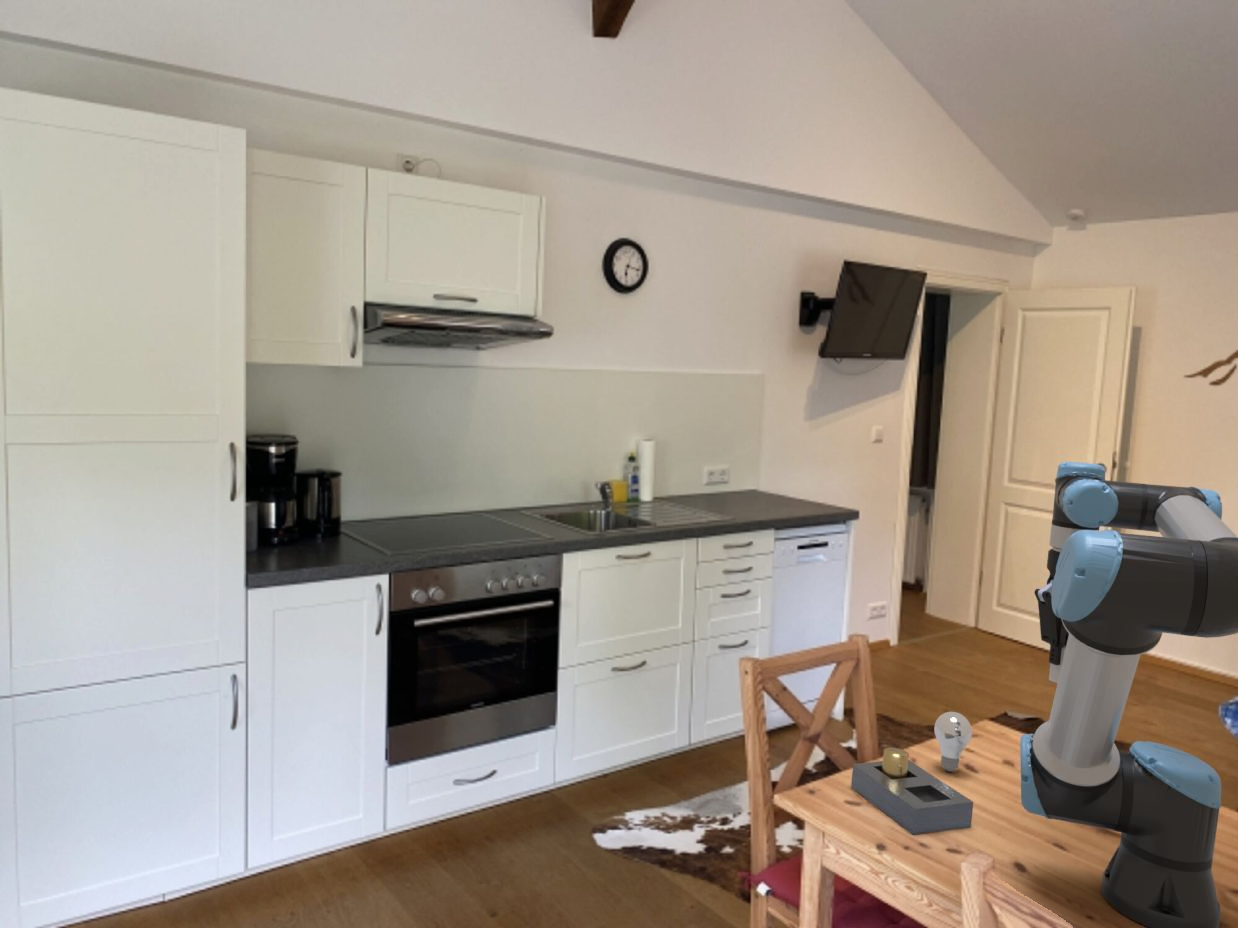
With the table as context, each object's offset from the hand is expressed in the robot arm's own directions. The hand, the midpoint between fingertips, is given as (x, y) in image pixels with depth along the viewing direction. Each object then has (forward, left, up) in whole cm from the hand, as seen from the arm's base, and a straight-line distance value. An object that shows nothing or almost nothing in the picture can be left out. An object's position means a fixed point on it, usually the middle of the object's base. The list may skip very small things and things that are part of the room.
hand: (1057, 681), depth 160 cm
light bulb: (+19, +5, -25) cm, 31 cm away
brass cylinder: (+13, +23, -24) cm, 36 cm away
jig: (+8, +23, -24) cm, 34 cm away
